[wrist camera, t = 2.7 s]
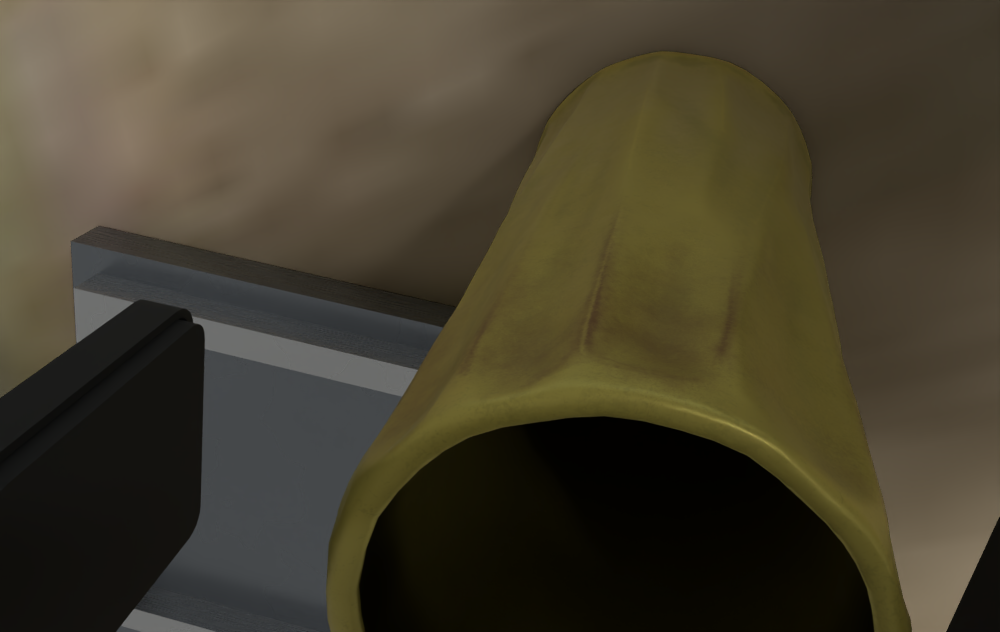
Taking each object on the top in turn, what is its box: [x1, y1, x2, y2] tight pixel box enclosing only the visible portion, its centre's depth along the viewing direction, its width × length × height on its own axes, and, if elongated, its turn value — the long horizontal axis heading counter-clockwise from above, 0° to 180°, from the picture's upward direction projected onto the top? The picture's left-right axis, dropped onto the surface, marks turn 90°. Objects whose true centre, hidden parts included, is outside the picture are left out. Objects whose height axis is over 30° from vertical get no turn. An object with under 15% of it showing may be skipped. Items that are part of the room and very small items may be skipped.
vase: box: [326, 51, 912, 632], centre depth 15 cm, size 6×6×14 cm
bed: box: [71, 226, 456, 632], centre depth 25 cm, size 18×14×5 cm
